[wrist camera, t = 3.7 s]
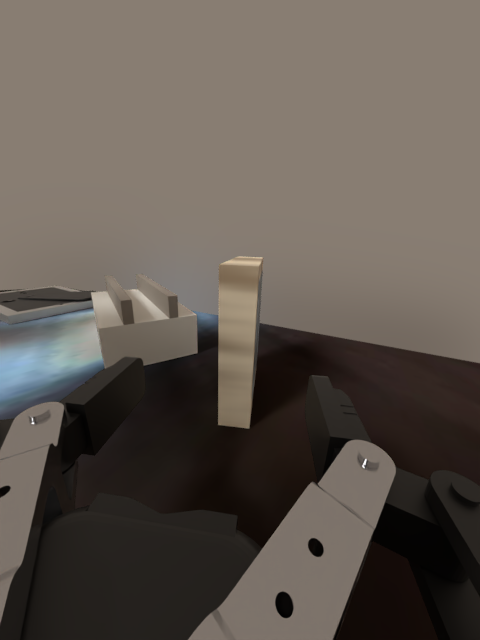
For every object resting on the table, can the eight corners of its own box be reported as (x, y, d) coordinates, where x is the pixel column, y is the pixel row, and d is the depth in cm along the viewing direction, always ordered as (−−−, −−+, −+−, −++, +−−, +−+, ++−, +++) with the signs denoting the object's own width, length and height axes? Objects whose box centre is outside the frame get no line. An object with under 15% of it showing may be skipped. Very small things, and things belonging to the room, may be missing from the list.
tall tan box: (249, 428, 18) (259, 266, 14) (217, 424, 18) (218, 264, 14) (256, 368, 26) (263, 257, 22) (234, 366, 26) (237, 256, 23)
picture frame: (108, 307, 49) (59, 293, 59) (107, 293, 48) (56, 282, 58) (11, 328, 36) (-32, 307, 46) (6, 311, 35) (-37, 292, 45)
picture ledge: (197, 353, 29) (196, 293, 27) (105, 374, 24) (93, 303, 21) (158, 314, 43) (155, 273, 41) (96, 322, 38) (88, 276, 36)
